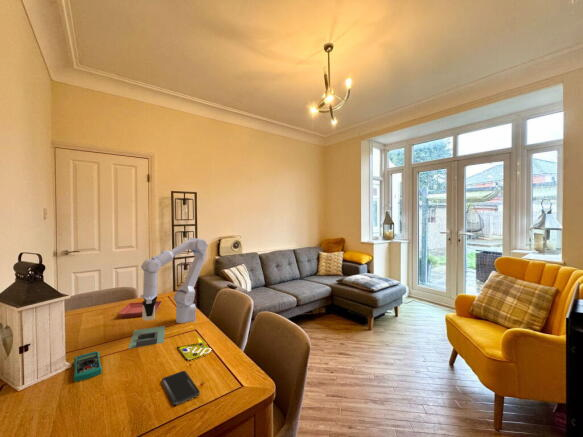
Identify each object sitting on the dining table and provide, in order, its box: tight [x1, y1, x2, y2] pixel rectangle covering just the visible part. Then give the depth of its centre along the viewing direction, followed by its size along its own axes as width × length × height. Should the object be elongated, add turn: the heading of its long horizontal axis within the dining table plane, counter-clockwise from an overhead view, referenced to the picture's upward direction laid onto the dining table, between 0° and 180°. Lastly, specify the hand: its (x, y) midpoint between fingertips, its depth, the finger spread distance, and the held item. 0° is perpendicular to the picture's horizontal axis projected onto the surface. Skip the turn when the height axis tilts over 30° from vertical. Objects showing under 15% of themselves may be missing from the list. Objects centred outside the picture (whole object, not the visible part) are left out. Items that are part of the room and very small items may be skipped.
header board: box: [128, 325, 166, 349], centre depth 113 cm, size 13×18×3 cm
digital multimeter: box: [73, 351, 103, 382], centre depth 90 cm, size 7×15×3 cm, turn 41°
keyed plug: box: [141, 306, 156, 322], centre depth 117 cm, size 5×4×7 cm
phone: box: [161, 370, 201, 407], centre depth 81 cm, size 8×1×15 cm
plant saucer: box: [118, 300, 163, 319], centre depth 144 cm, size 18×18×3 cm
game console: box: [176, 335, 213, 361], centre depth 105 cm, size 18×11×2 cm, turn 43°
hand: (149, 314), depth 117 cm, fingers closed on keyed plug, 4 cm apart
